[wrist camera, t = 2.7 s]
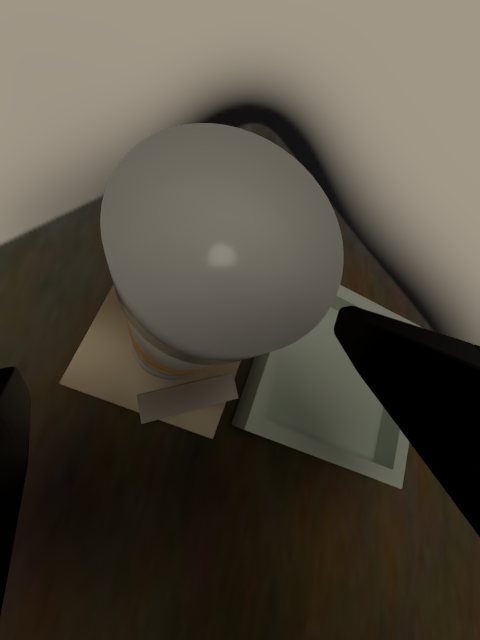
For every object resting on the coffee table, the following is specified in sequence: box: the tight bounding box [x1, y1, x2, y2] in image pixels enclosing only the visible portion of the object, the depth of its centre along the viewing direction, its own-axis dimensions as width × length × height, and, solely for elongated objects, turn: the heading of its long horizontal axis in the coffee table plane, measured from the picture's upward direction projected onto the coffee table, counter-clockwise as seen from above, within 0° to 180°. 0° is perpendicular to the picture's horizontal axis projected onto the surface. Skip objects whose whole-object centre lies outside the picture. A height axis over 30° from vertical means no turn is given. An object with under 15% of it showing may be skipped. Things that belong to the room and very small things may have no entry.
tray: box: [231, 285, 422, 489], centre depth 19 cm, size 10×10×2 cm
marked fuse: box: [100, 123, 343, 380], centre depth 11 cm, size 4×4×12 cm
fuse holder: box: [59, 284, 241, 439], centre depth 15 cm, size 8×8×4 cm
